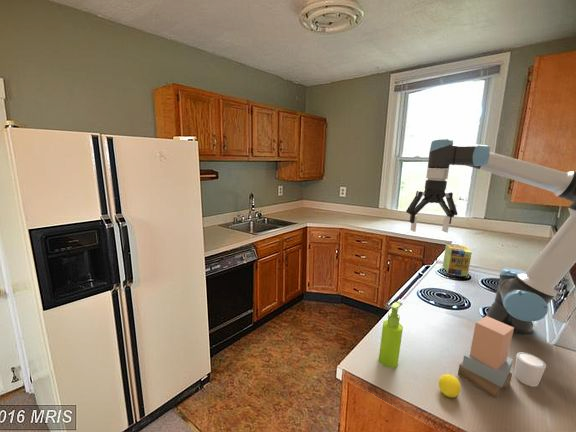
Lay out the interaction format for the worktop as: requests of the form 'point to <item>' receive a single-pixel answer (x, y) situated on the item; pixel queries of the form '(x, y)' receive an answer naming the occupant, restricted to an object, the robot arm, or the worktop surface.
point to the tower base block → (483, 381)
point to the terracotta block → (491, 342)
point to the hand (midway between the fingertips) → (428, 231)
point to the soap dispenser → (391, 338)
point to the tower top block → (487, 369)
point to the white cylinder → (529, 369)
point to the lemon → (449, 385)
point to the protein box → (457, 259)
